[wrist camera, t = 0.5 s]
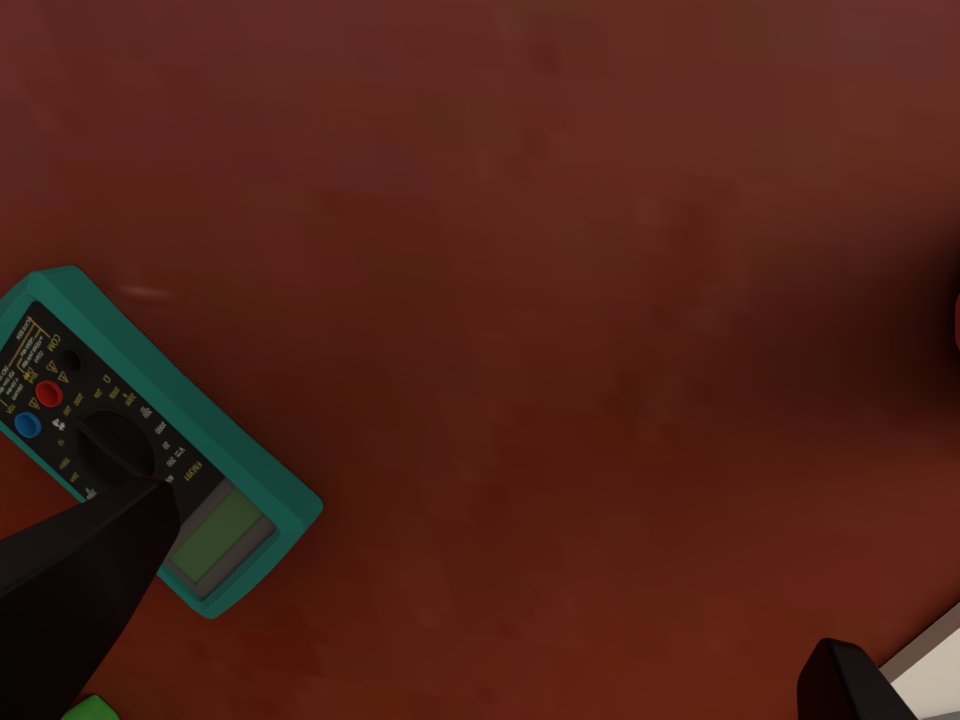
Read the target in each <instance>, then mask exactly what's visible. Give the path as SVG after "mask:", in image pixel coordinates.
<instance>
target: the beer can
mask: <svg viewBox="0 0 960 720" xmlns="http://www.w3.org/2000/svg"><path fill="white" fill-rule="evenodd" d="M955 341H956V343H957V346H958V348H959V351H960V294H959V296H958V299H957V301H956V304H955Z"/></svg>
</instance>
